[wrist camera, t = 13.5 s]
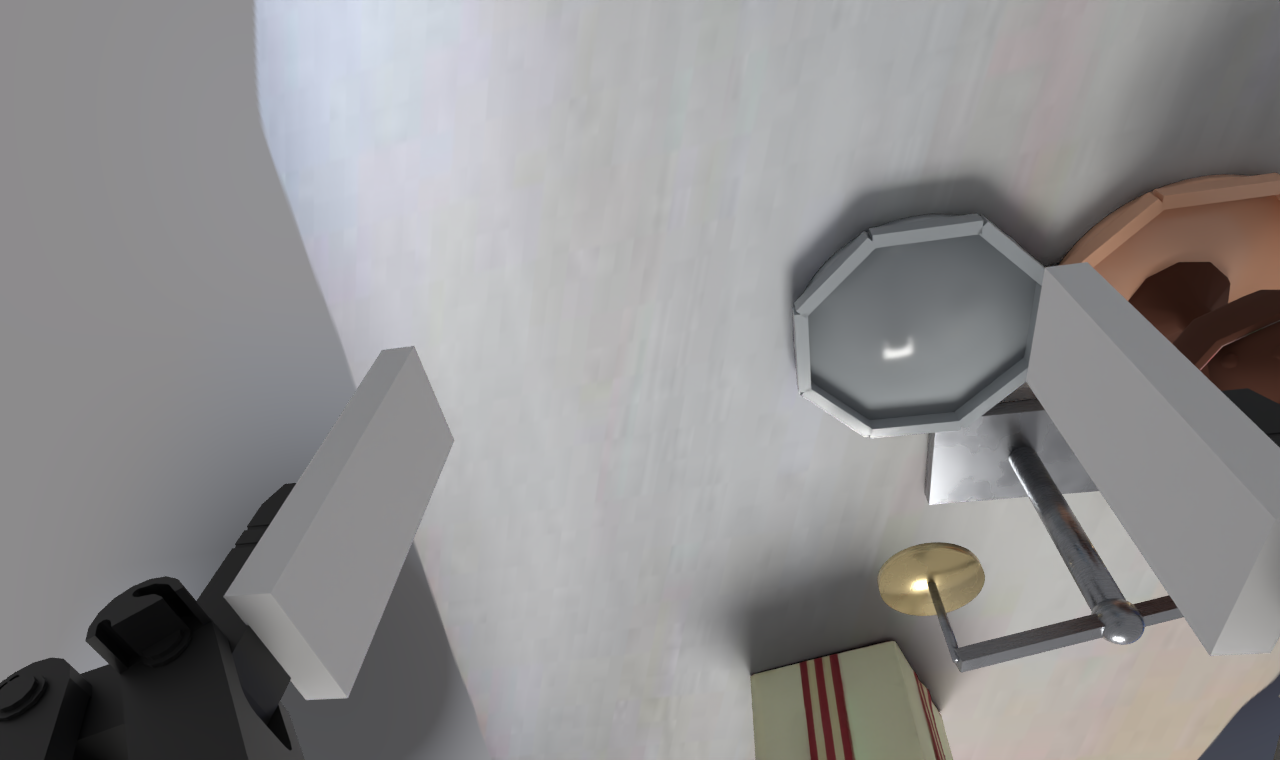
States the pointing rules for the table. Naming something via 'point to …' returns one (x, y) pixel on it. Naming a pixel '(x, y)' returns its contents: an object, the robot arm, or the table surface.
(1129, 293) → the terracotta dish
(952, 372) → the slate dish
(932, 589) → the balance
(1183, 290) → the ice cream bowl
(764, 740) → the gift box
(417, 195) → the table surface
